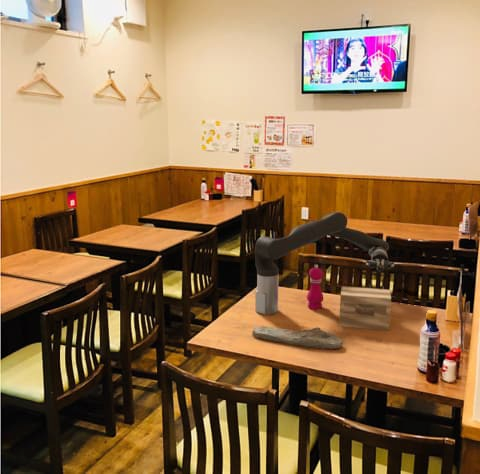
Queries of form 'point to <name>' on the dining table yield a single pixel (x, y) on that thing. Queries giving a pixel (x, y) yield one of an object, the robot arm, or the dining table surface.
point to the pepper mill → (315, 289)
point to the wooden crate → (365, 308)
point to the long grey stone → (299, 337)
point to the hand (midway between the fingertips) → (380, 269)
